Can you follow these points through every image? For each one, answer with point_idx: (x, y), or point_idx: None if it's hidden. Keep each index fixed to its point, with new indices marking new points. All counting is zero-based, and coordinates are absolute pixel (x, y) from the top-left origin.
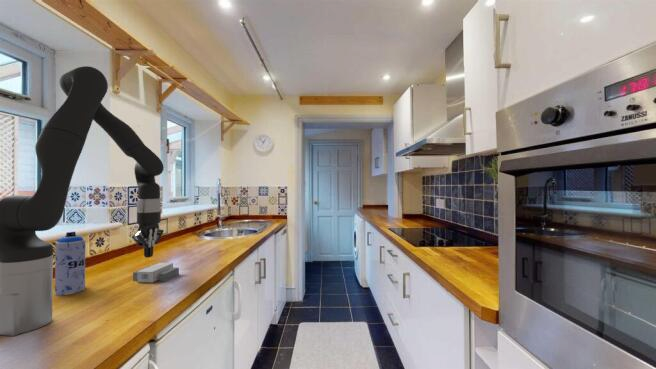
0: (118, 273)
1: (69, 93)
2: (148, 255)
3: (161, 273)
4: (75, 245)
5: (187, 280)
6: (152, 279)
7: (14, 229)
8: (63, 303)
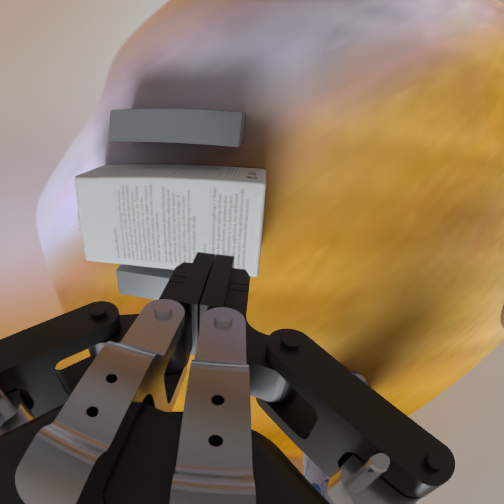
0: None
1: None
2: (237, 271)
3: (233, 138)
4: None
5: (216, 10)
6: (264, 171)
7: None
8: (435, 337)
